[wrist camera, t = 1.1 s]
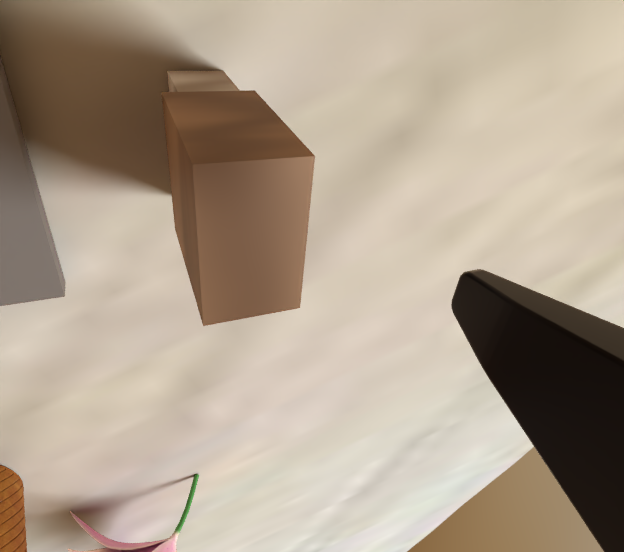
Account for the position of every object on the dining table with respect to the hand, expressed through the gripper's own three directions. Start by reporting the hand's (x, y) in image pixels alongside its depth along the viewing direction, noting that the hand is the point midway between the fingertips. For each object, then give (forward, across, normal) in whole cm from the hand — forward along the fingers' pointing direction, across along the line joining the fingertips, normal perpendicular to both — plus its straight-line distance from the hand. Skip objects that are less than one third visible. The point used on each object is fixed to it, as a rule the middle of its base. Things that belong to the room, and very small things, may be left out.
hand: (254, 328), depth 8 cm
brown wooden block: (+12, -1, +1) cm, 12 cm away
